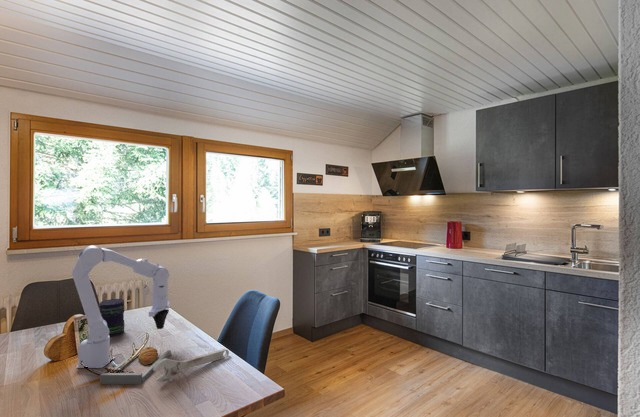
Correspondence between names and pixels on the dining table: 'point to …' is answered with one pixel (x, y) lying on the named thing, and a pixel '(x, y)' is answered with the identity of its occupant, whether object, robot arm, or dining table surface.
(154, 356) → the pastry
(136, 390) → the dining table surface
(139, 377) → the bay
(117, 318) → the storage jar
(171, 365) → the wrench
